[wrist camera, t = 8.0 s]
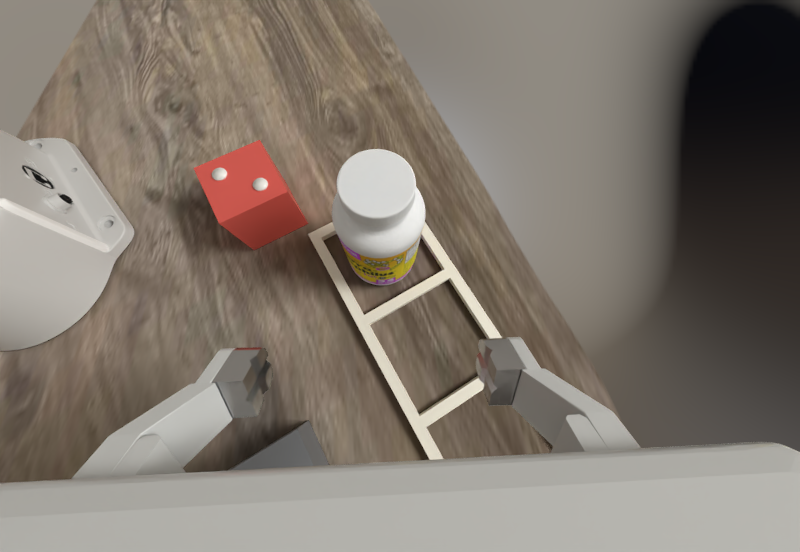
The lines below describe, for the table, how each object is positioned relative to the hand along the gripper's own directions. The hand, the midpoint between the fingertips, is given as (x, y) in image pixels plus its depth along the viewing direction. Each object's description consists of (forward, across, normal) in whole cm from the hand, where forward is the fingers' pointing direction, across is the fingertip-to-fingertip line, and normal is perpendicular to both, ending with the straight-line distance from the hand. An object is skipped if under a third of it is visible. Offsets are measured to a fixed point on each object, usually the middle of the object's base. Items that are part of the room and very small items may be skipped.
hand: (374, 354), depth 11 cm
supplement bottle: (+18, 0, +4) cm, 19 cm away
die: (+22, +12, +1) cm, 25 cm away
